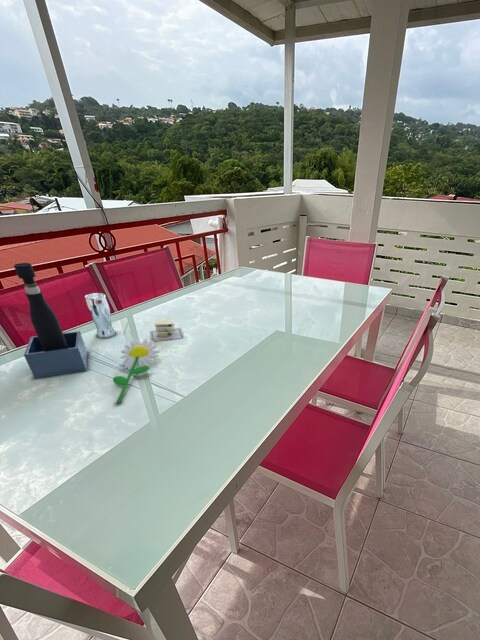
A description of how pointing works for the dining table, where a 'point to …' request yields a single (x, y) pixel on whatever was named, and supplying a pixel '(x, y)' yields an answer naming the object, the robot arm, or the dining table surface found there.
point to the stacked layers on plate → (165, 330)
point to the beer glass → (100, 314)
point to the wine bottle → (41, 312)
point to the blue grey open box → (57, 357)
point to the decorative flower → (136, 361)
